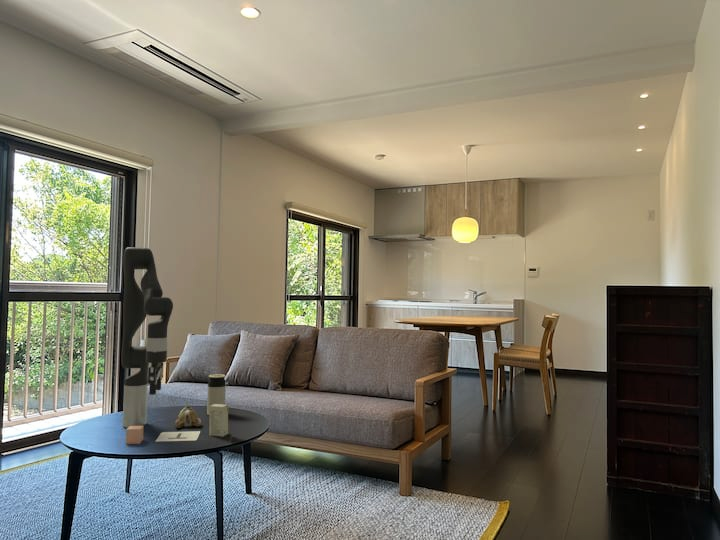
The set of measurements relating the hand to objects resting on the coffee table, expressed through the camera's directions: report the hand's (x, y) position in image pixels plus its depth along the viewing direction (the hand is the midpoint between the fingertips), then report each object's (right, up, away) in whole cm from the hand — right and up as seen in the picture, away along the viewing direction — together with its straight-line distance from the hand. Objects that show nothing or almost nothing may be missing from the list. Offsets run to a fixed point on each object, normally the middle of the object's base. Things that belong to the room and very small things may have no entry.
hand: (155, 392), depth 201 cm
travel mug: (+11, -21, +45) cm, 51 cm away
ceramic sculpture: (+5, -20, +23) cm, 31 cm away
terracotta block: (-7, -19, -3) cm, 20 cm away
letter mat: (+7, -19, +6) cm, 21 cm away
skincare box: (+22, -20, +9) cm, 31 cm away
